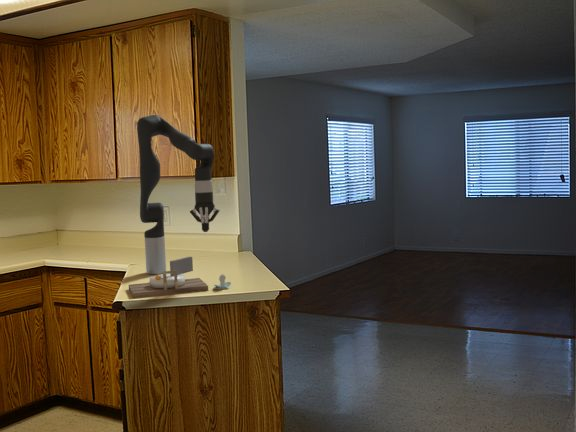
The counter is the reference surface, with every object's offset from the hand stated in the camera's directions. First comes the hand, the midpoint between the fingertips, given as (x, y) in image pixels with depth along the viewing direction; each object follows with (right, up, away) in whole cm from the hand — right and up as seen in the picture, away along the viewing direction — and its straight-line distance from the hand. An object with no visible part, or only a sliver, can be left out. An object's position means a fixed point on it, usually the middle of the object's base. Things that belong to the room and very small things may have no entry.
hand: (205, 231), depth 279 cm
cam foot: (-12, -21, -5) cm, 25 cm away
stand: (-15, -24, -8) cm, 29 cm away
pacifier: (+8, -24, -9) cm, 26 cm away
